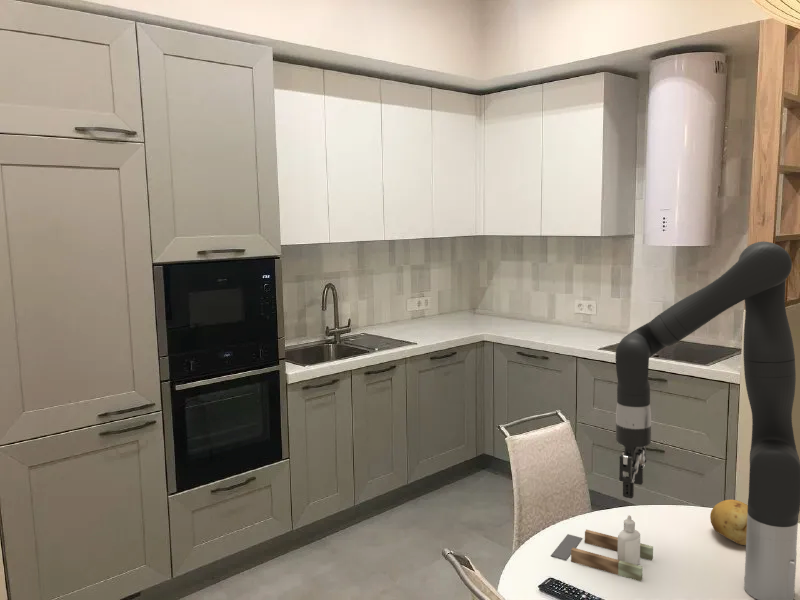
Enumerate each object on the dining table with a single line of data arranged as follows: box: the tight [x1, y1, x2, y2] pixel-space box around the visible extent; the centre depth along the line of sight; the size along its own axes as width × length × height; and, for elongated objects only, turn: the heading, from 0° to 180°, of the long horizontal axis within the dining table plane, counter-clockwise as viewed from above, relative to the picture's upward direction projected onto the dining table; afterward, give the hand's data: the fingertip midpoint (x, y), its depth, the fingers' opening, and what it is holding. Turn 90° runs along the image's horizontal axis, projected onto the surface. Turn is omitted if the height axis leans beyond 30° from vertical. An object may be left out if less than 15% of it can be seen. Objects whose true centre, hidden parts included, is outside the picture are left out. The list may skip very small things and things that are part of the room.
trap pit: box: [550, 533, 583, 562], centre depth 156 cm, size 4×12×1 cm, turn 146°
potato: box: [709, 499, 748, 546], centre depth 157 cm, size 10×12×10 cm
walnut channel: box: [570, 529, 654, 582], centre depth 149 cm, size 16×11×3 cm
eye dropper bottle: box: [616, 514, 641, 565], centre depth 147 cm, size 4×6×12 cm
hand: (633, 490), depth 145 cm, fingers open, 8 cm apart
